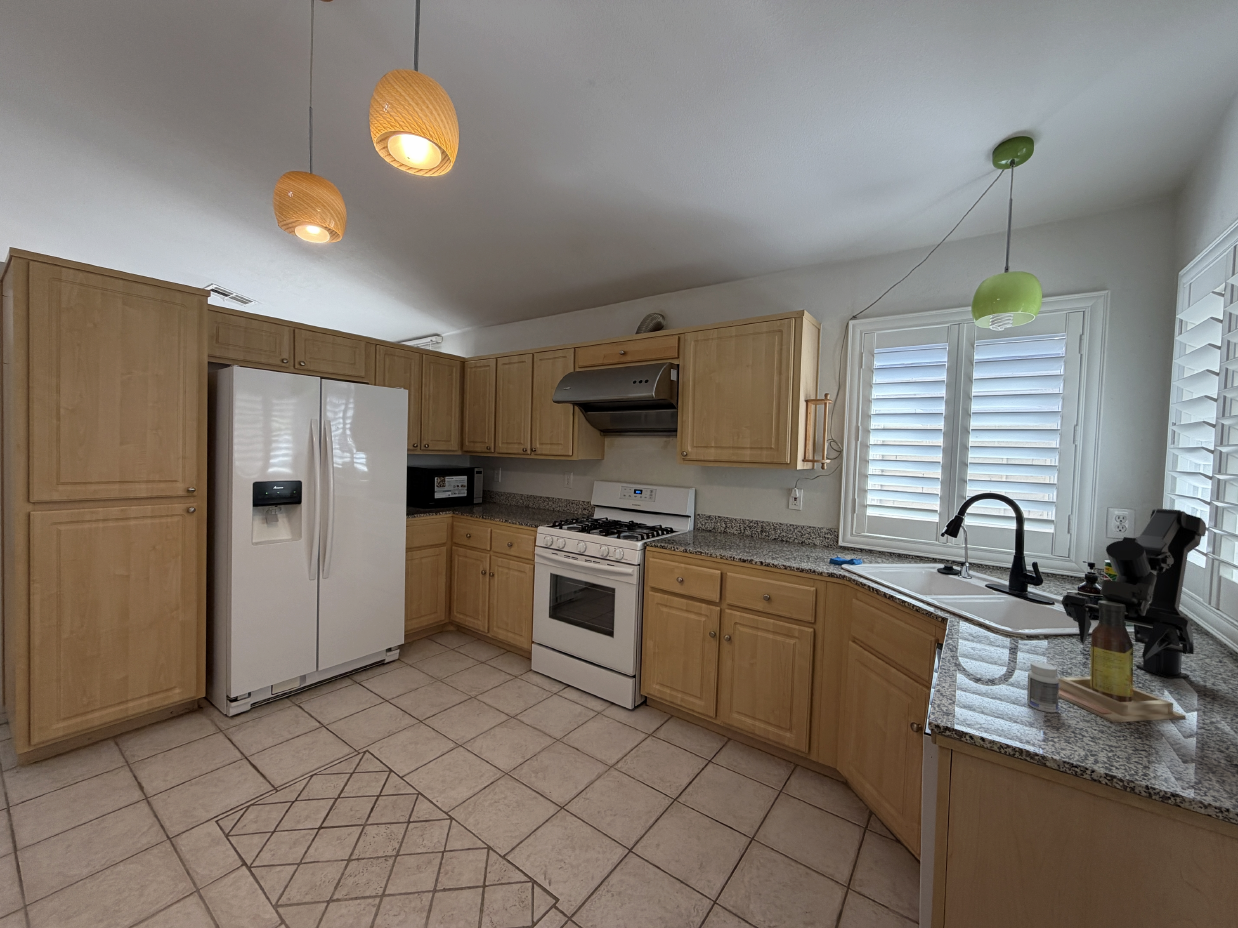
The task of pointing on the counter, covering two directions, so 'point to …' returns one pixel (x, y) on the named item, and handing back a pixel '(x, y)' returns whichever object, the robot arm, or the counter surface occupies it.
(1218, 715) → the counter surface
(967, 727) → the counter surface
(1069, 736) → the counter surface
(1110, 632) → the sauce bottle
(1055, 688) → the pill bottle
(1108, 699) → the wooden tray
